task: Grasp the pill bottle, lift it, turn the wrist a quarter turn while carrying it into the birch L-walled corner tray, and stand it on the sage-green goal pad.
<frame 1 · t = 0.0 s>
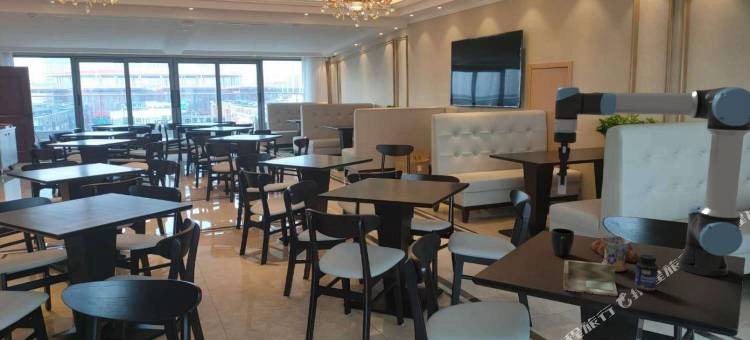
hand: (561, 190, 192), 28 cm above the table, fingers open, 13 cm apart
pastry: (612, 256, 208), on the table
mug: (613, 268, 194), on the table
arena: (589, 285, 176), on the table
mug 2: (561, 256, 207), on the table
pill bottle: (645, 289, 173), on the table
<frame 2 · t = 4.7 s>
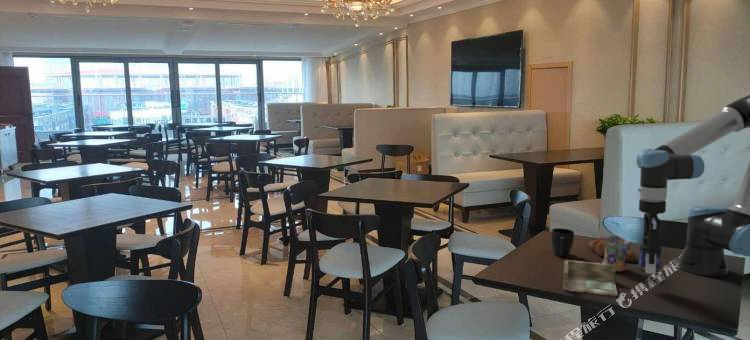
hand: (648, 269, 172), 7 cm above the table, fingers closed on pill bottle, 6 cm apart
pill bottle: (649, 271, 173), point 6 cm above the table, touching gripper
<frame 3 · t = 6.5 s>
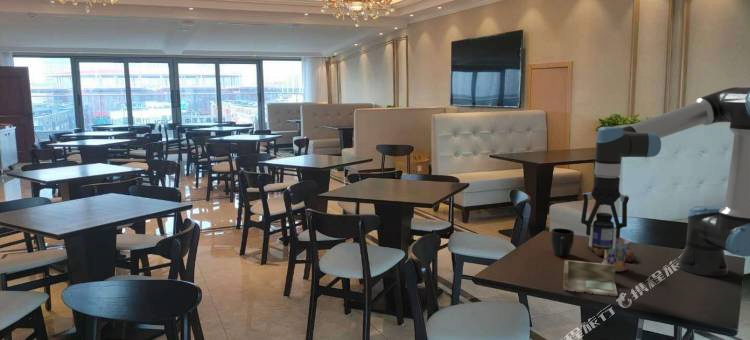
hand: (601, 246, 173), 14 cm above the table, fingers closed on pill bottle, 6 cm apart
pill bottle: (601, 248, 173), point 13 cm above the table, touching gripper
when the fingers open (2 cm above the table, at t = 8.8 s): pill bottle stays where it is, resting on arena.
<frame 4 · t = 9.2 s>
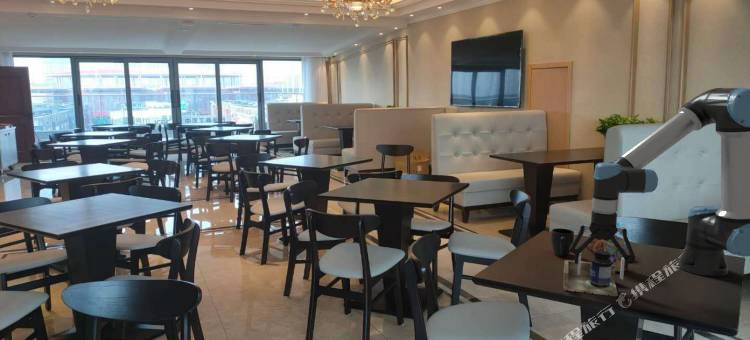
hand: (599, 275, 174), 4 cm above the table, fingers open, 12 cm apart
pill bottle: (599, 285, 174), point 1 cm above the table, touching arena
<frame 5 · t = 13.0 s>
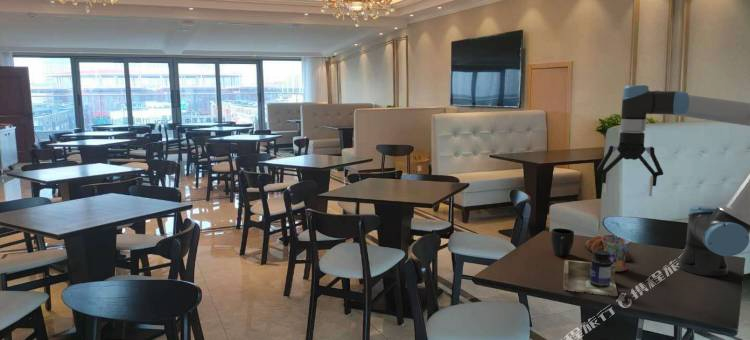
hand: (627, 194, 182), 29 cm above the table, fingers open, 13 cm apart
at the end: pill bottle inside the target area on the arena (0.2 cm from its centre), point 0.8 cm above the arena's base; pill bottle tilted 0°; the gripper is holding nothing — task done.
